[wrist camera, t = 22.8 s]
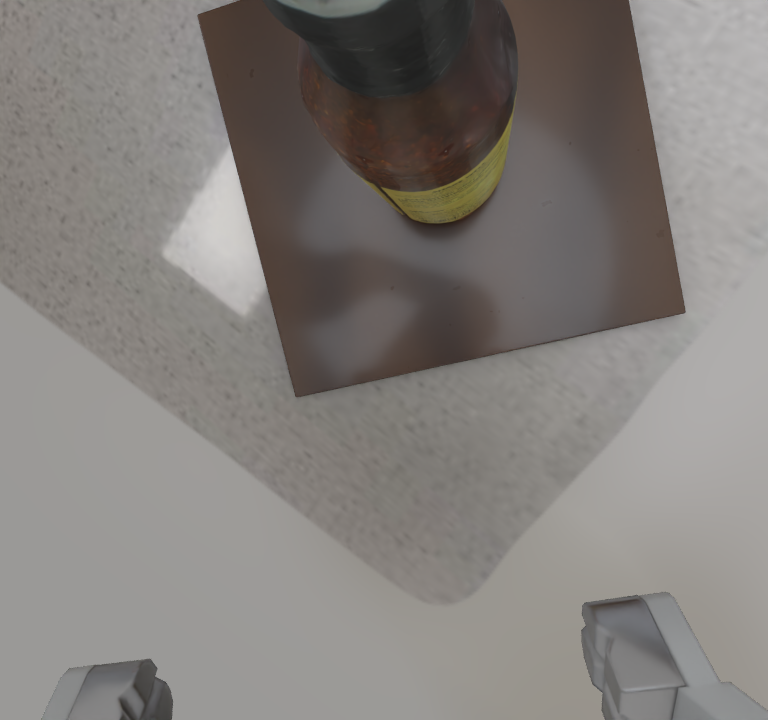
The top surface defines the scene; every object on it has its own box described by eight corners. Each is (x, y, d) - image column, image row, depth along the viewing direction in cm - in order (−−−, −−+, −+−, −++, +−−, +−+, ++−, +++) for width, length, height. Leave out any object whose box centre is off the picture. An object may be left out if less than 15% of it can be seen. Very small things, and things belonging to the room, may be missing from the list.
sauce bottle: (526, 130, 27) (693, -260, 8) (464, 250, 28) (469, 176, 9) (405, 70, 27) (265, -448, 8) (348, 190, 29) (105, -6, 9)
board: (298, 395, 31) (295, 397, 30) (201, 19, 29) (196, 14, 28) (681, 312, 28) (686, 312, 27) (602, -117, 26) (606, -127, 25)
